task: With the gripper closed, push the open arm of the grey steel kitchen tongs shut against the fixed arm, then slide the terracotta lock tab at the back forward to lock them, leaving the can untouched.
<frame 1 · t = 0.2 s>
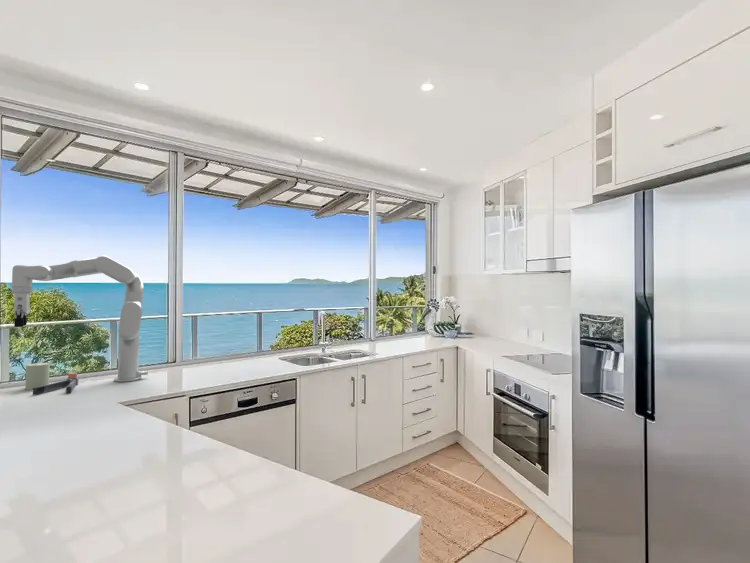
hand: (20, 326, 196), 31 cm above the worktop, fingers open, 9 cm apart
lock tab: (72, 375, 206), point 5 cm above the worktop, slide at 0.0 cm
tongs fixed: (69, 385, 203), on the worktop
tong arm: (52, 386, 193), point 2 cm above the worktop, hinge at -35.0°
can: (37, 388, 199), on the worktop
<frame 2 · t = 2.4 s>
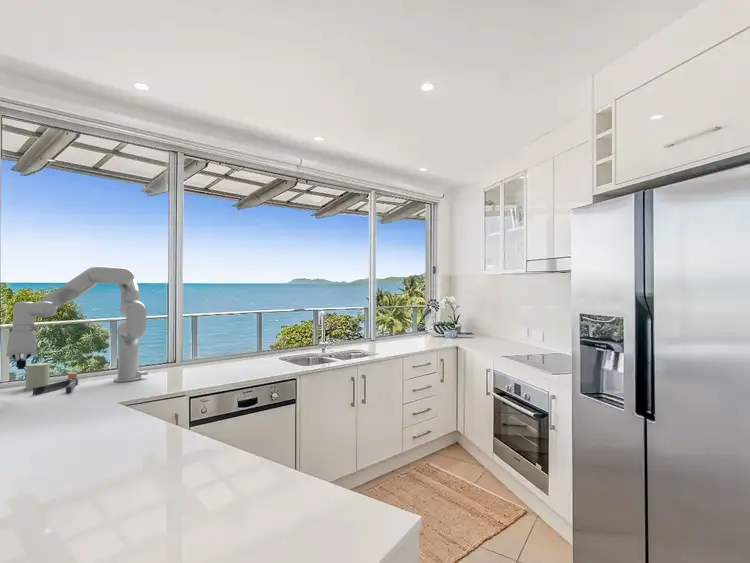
hand: (21, 368, 185), 12 cm above the worktop, fingers closed
nothing on the worktop moved.
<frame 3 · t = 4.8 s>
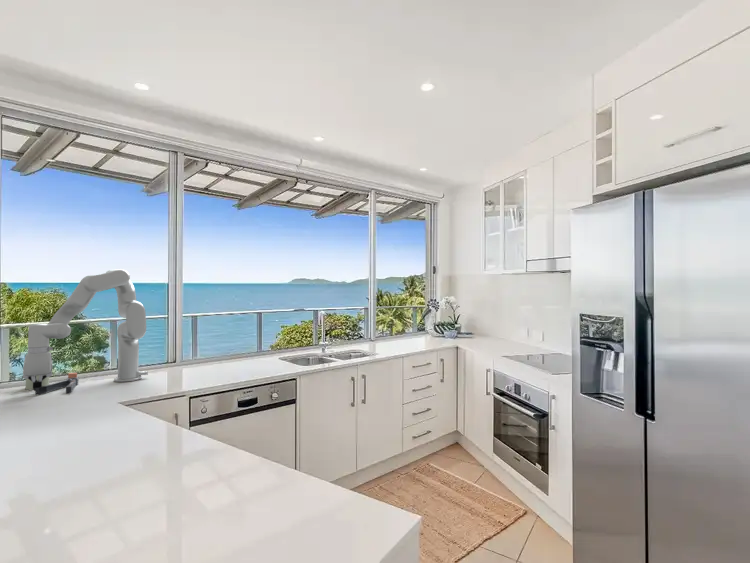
hand: (37, 390, 188), 2 cm above the worktop, fingers closed
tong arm: (53, 386, 193), point 2 cm above the worktop, hinge at -31.0°, touching gripper
everything else where it was.
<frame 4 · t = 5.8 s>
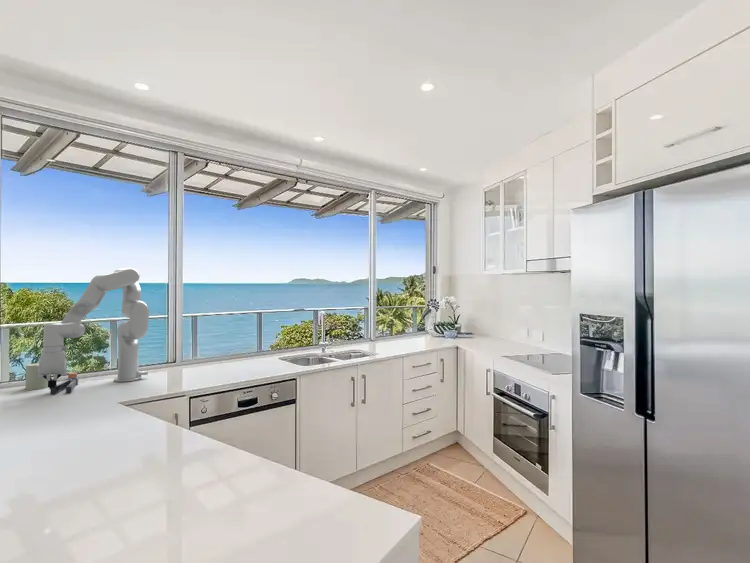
hand: (52, 388, 190), 2 cm above the worktop, fingers closed
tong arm: (61, 386, 194), point 2 cm above the worktop, hinge at -11.7°, touching gripper
everything else where it was.
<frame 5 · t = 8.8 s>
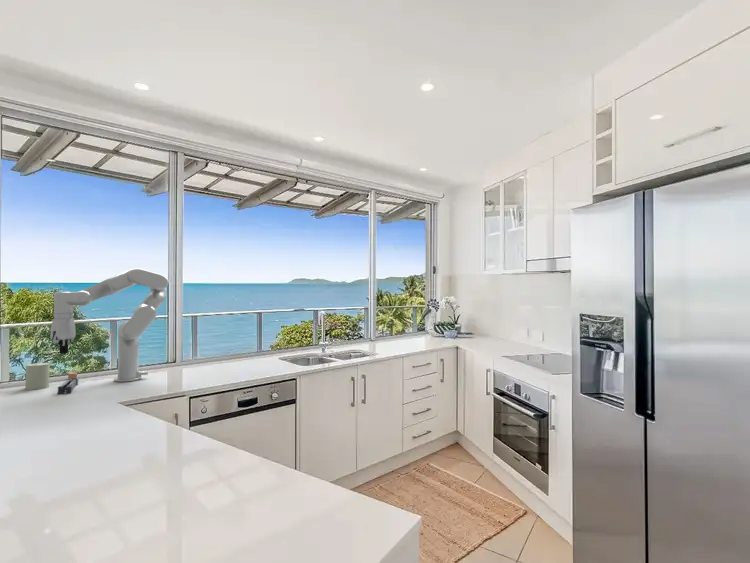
hand: (63, 353, 201), 17 cm above the worktop, fingers closed
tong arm: (65, 386, 194), point 2 cm above the worktop, hinge at -3.0°
everything else where it was.
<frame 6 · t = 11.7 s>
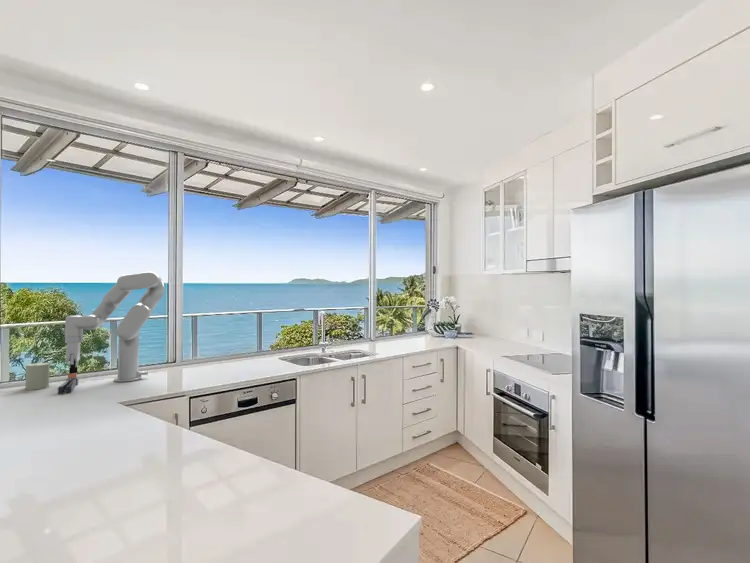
hand: (73, 375, 208), 4 cm above the worktop, fingers closed
lock tab: (72, 375, 206), point 5 cm above the worktop, slide at 0.9 cm, touching gripper
everything else where it was.
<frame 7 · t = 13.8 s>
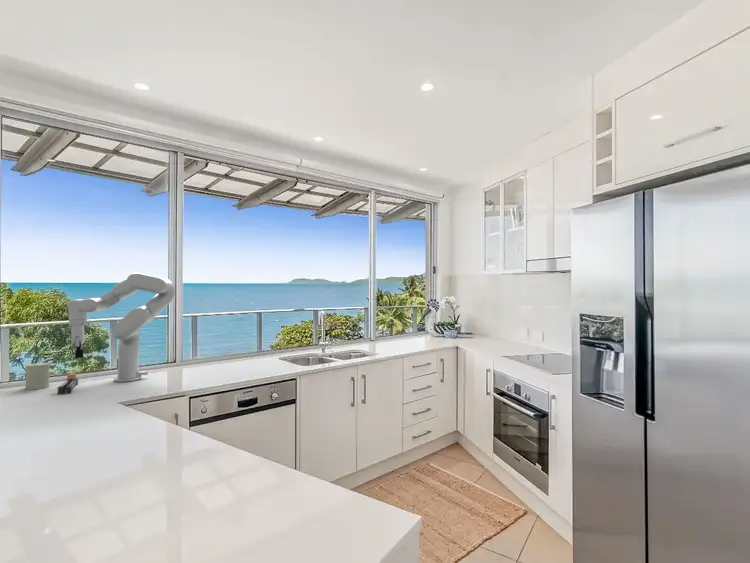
hand: (79, 357, 213), 13 cm above the worktop, fingers closed
lock tab: (71, 376, 204), point 5 cm above the worktop, slide at 2.9 cm
everything else where it was.
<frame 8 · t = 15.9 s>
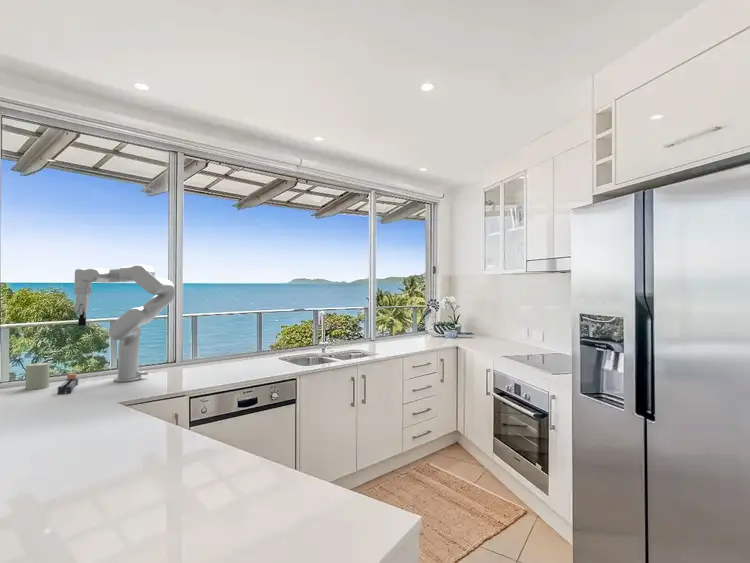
hand: (82, 325, 219), 29 cm above the worktop, fingers closed
nothing on the worktop moved.
at the end: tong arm at -3° (first picture: -35°); lock tab slide at 2.9 cm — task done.
